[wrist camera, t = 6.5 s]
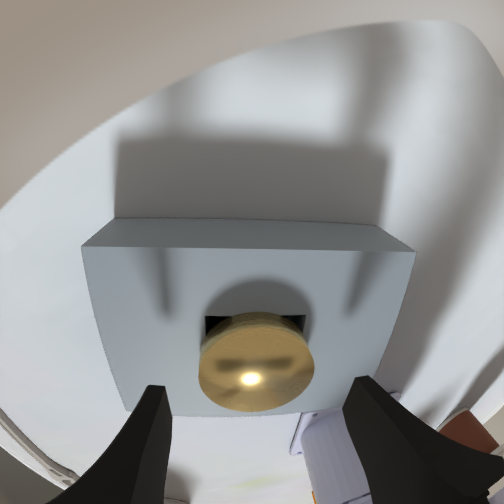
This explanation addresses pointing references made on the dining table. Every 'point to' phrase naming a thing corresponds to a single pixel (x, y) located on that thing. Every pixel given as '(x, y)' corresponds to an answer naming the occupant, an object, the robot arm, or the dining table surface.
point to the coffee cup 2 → (469, 432)
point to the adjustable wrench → (38, 453)
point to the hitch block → (242, 299)
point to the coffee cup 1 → (173, 501)
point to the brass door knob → (254, 362)
